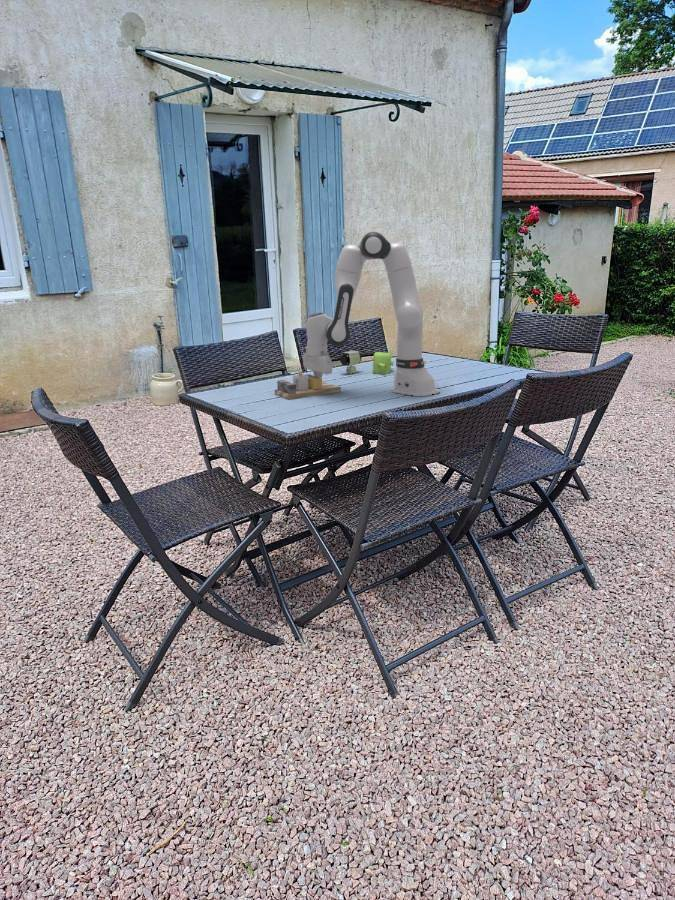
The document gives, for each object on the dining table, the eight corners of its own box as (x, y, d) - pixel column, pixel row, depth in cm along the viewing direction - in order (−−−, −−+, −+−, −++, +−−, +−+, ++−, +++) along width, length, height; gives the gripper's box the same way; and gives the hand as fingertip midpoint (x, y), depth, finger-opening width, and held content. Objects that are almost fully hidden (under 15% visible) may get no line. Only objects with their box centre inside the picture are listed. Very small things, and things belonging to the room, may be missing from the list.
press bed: (340, 391, 299) (340, 378, 298) (289, 399, 287) (288, 386, 285) (324, 386, 311) (324, 373, 309) (274, 393, 298) (274, 380, 296)
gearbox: (391, 376, 332) (392, 357, 329) (372, 375, 333) (372, 356, 330) (394, 369, 349) (394, 351, 346) (375, 368, 350) (375, 350, 347)
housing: (308, 389, 296) (307, 371, 293) (298, 390, 293) (297, 372, 291) (303, 387, 300) (302, 369, 297) (293, 388, 297) (292, 371, 295)
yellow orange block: (322, 388, 296) (321, 377, 295) (314, 389, 294) (314, 378, 293) (311, 384, 304) (310, 373, 303) (303, 385, 303) (303, 375, 301)
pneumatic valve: (339, 374, 338) (339, 350, 334) (355, 370, 346) (355, 347, 342) (347, 375, 334) (347, 351, 330) (363, 372, 342) (363, 348, 338)
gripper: (335, 352, 289) (336, 383, 293) (312, 346, 306) (313, 376, 310) (322, 354, 286) (323, 385, 290) (300, 348, 303) (301, 378, 307)
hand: (318, 380), depth 300 cm, fingers closed
